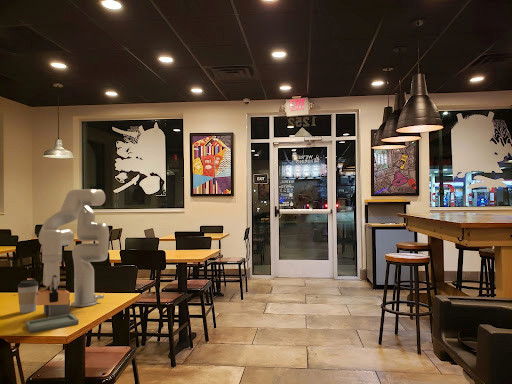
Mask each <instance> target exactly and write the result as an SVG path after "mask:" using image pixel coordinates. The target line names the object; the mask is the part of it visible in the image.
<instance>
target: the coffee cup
mask: <svg viewBox="0 0 512 384" xmlns="http://www.w3.org/2000/svg"><path fill="white" fill-rule="evenodd" d="M17 290H18V291H17V296H18V305H19V313H20V314H29V313H33V312H36V311H37V306H38V305H36V304H35V303H34V301H35V292H36V291H39V282H37V280H29V279H25V280H22V281H20V283H19V284H18V283H17Z"/></svg>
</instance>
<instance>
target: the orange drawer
mask: <svg viewBox="0 0 512 384" xmlns="http://www.w3.org/2000/svg"><path fill="white" fill-rule="evenodd" d="M70 296H71V292H70V291H68V290H58V302H51V303H50V302H49V301H50V291H46V290H38V291H36V292H35V301H34V303H35V304H36V305H37V306H44V305H66V304H69V299H70Z"/></svg>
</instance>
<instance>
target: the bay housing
mask: <svg viewBox="0 0 512 384" xmlns="http://www.w3.org/2000/svg"><path fill="white" fill-rule="evenodd" d="M67 314H71V300H70V298H69V304H66V305H43V315H44V316H48V318H49V317H55V316H61V315H67Z"/></svg>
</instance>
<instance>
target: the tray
mask: <svg viewBox="0 0 512 384" xmlns="http://www.w3.org/2000/svg"><path fill="white" fill-rule="evenodd" d="M79 320H80V319H79V318H77V317H76V316H75V315H74V314H72V313H70V314H67V315H61V316H55V317H49V316H48V317H44V318H38V319H33V320H27V321H25V328H26V329H27V330H28V332H29V333H30V334H33V333H35V334H36V333H38V332H43V331H44V332H45V331H50V330H54V329H55V330H56V329H60V328H66V327H71V326H72V327H73V326H76V325H79Z"/></svg>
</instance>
